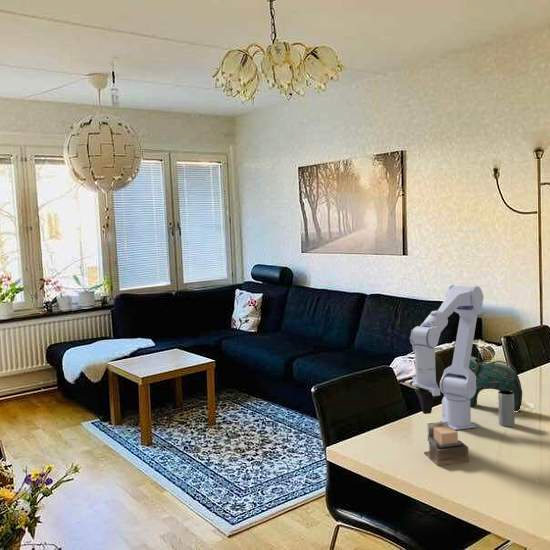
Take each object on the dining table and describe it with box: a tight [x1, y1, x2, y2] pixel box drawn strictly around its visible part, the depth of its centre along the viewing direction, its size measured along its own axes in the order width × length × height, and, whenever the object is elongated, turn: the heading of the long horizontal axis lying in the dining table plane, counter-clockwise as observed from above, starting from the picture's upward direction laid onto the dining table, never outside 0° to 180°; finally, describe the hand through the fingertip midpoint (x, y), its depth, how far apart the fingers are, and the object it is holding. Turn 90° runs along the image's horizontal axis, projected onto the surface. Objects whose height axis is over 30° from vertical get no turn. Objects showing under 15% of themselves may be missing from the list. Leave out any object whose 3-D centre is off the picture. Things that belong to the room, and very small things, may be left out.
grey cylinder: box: [497, 390, 516, 428], centre depth 182 cm, size 4×4×10 cm
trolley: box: [426, 421, 461, 449], centre depth 161 cm, size 8×6×6 cm
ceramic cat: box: [469, 349, 523, 411], centre depth 198 cm, size 20×6×20 cm, turn 56°
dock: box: [423, 439, 470, 467], centre depth 160 cm, size 8×9×4 cm
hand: (426, 413), depth 171 cm, fingers closed
